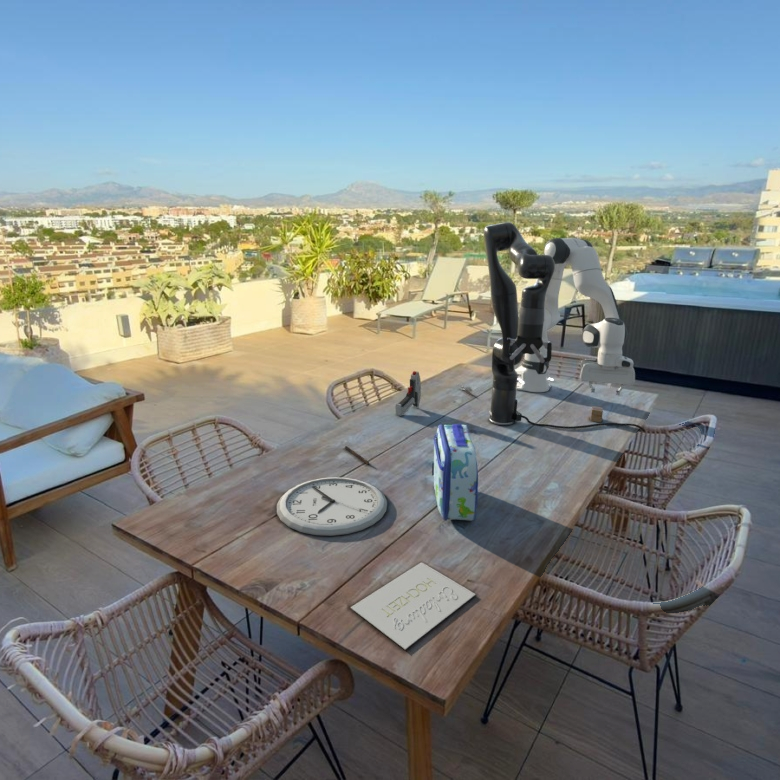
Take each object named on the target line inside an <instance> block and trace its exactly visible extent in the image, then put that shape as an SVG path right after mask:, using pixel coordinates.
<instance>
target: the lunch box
mask: <svg viewBox="0 0 780 780" xmlns="http://www.w3.org/2000/svg"><path fill="white" fill-rule="evenodd" d="M476 453H477V452H476V448H475V446H474V443H473V439H472V438H471V434H470V429H469V427H468V425H467V424H462V423H453V424H439V425H437V429H436V434H435V435H434V437H433V461H432V465H431V476H433V489H434V494H435V500H436V505H437V510H438V512H439V515H440V517H441V518H442V519H443V521H447V520H459V521H471V522H472V521H474V520H476V519H475V518H476V515H477V511H478V510H477V509H478V495H479V468H478V467H479V465H478V459H477V454H476Z"/></svg>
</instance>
